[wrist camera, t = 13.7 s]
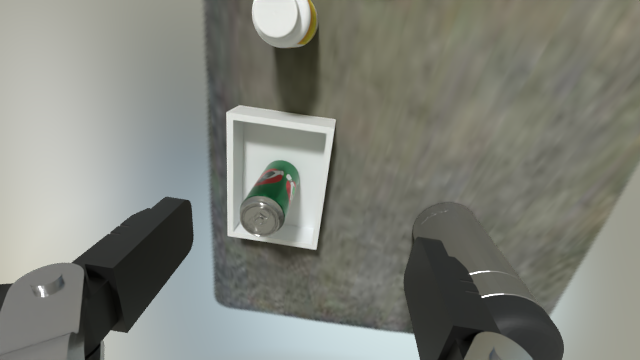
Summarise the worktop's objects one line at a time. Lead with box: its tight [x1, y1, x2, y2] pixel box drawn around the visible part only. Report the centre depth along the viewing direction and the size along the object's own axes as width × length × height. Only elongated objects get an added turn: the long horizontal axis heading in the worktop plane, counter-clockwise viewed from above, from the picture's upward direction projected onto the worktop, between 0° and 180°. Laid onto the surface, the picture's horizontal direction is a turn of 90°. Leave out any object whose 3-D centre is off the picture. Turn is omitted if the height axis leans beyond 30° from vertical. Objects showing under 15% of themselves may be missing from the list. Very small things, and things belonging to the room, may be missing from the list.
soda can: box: [240, 160, 299, 237], centre depth 37 cm, size 5×5×12 cm
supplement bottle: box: [252, 0, 318, 48], centre depth 30 cm, size 6×6×10 cm
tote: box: [227, 105, 336, 250], centre depth 41 cm, size 13×18×4 cm
